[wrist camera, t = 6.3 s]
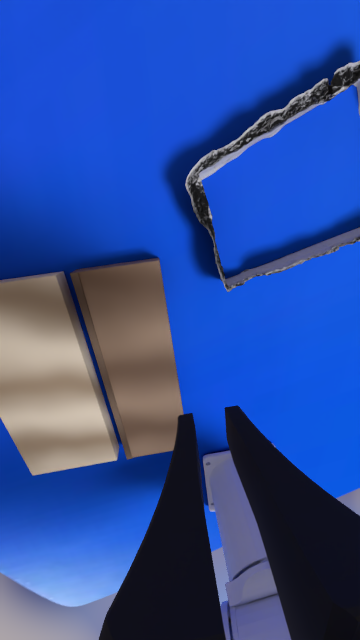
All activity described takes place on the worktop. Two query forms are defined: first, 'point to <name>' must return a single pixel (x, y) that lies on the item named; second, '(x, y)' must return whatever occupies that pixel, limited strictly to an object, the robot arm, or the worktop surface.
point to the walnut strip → (133, 351)
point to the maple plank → (50, 378)
